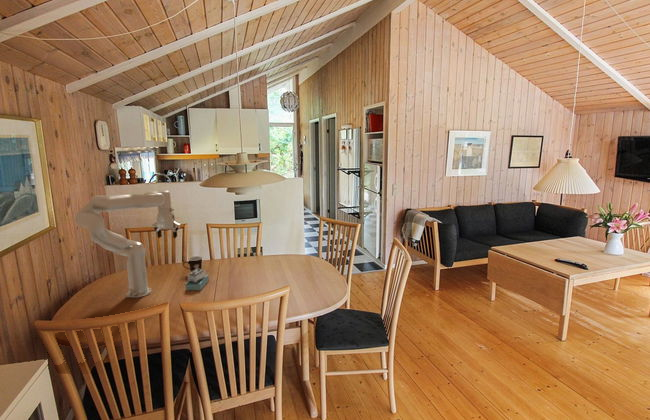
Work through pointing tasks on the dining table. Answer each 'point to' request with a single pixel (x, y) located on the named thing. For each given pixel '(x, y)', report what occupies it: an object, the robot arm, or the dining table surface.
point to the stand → (197, 284)
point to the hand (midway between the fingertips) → (167, 237)
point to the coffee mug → (194, 263)
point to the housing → (196, 275)
